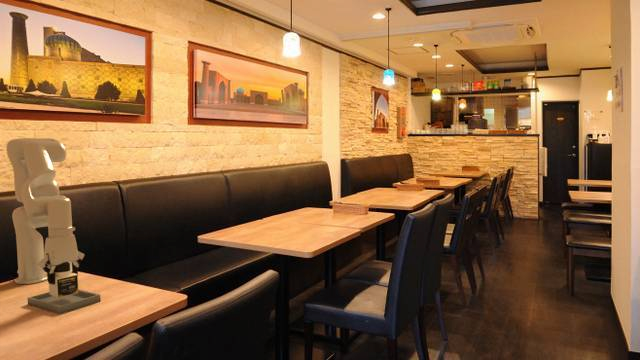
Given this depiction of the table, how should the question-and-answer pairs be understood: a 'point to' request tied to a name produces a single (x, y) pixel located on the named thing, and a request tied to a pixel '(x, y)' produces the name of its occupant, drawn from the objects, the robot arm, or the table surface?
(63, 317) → the table surface
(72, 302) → the gray tray
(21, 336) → the table surface
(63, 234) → the robot arm
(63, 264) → the medicine bottle
